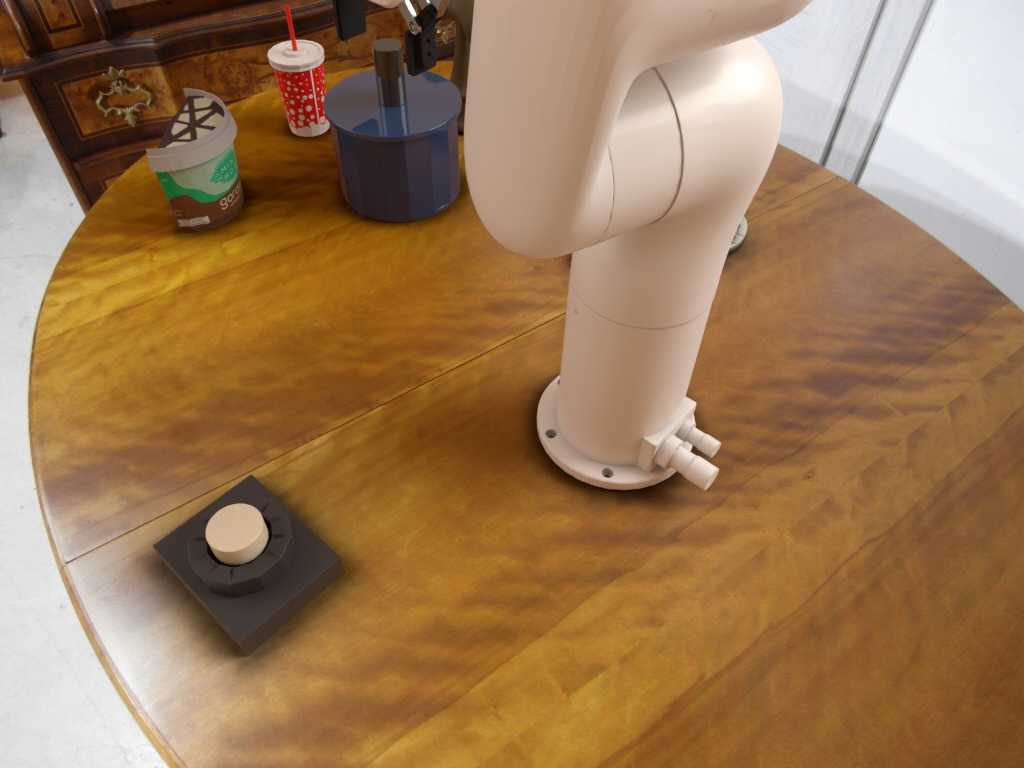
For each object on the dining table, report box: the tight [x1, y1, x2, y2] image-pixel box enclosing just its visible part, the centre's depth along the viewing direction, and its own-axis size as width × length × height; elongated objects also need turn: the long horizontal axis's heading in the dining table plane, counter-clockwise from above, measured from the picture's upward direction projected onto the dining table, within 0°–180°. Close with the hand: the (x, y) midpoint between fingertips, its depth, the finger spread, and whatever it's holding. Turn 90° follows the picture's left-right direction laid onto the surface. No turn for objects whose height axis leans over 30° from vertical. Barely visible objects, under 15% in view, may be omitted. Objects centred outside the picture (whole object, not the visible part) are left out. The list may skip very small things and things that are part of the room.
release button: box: [206, 504, 269, 565], centre depth 50 cm, size 4×4×2 cm
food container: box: [145, 87, 245, 233], centre depth 77 cm, size 12×6×10 cm, turn 179°
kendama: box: [415, 0, 474, 133], centre depth 85 cm, size 6×10×20 cm, turn 44°
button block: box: [152, 474, 346, 657], centre depth 52 cm, size 10×8×4 cm
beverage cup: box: [267, 3, 331, 138], centre depth 87 cm, size 6×6×14 cm
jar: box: [329, 118, 461, 223], centre depth 80 cm, size 13×13×10 cm
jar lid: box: [323, 37, 462, 142], centre depth 75 cm, size 14×14×7 cm
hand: (386, 52), depth 73 cm, fingers open, 9 cm apart
